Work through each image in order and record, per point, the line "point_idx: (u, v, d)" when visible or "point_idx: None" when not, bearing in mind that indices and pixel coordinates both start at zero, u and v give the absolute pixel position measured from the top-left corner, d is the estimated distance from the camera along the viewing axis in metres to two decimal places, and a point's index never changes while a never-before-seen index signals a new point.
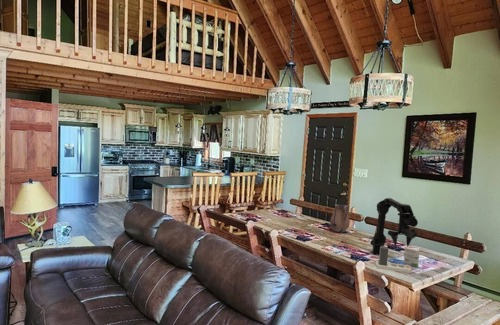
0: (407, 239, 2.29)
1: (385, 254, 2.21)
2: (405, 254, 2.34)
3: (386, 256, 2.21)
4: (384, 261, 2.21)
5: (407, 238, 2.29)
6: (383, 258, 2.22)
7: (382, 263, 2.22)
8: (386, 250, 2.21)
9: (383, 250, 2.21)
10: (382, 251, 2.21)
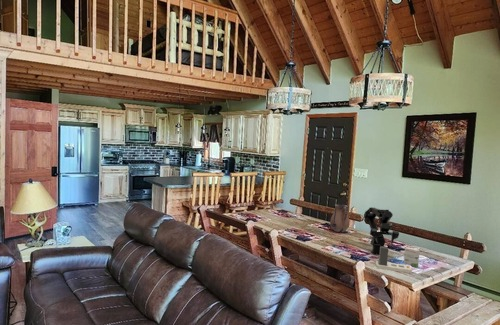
0: (391, 240, 2.37)
1: (385, 254, 2.21)
2: (405, 254, 2.34)
3: (386, 256, 2.21)
4: (384, 261, 2.21)
5: (391, 239, 2.38)
6: (383, 258, 2.22)
7: (382, 263, 2.22)
8: (386, 250, 2.21)
9: (383, 250, 2.21)
10: (382, 251, 2.21)
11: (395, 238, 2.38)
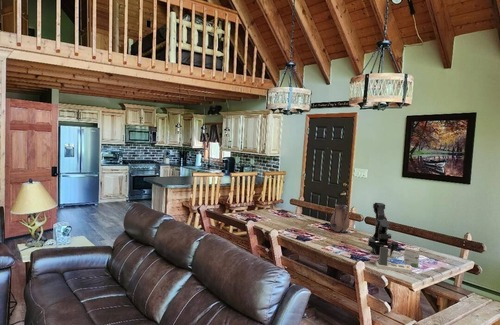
0: (390, 251, 2.26)
1: (385, 254, 2.21)
2: (405, 254, 2.34)
3: (386, 256, 2.21)
4: (384, 261, 2.21)
5: (390, 250, 2.27)
6: (383, 258, 2.22)
7: (382, 263, 2.22)
8: (386, 250, 2.21)
9: (383, 250, 2.21)
10: (382, 251, 2.21)
11: (394, 249, 2.27)
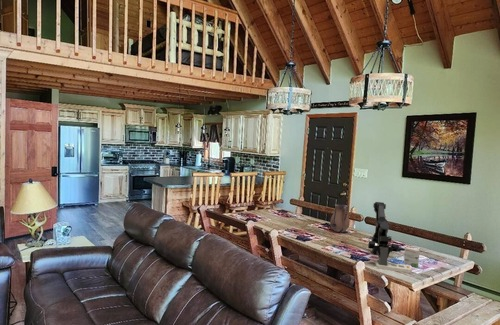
0: None
1: (385, 254, 2.21)
2: (405, 254, 2.34)
3: (386, 256, 2.21)
4: (384, 261, 2.21)
5: None
6: (383, 258, 2.22)
7: (382, 263, 2.22)
8: (386, 250, 2.21)
9: (383, 250, 2.21)
10: (382, 251, 2.21)
11: (391, 251, 2.26)
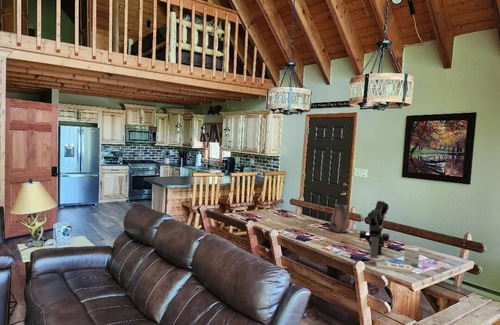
0: None
1: (376, 244, 2.24)
2: (405, 254, 2.34)
3: (377, 245, 2.24)
4: (375, 250, 2.24)
5: None
6: (374, 248, 2.24)
7: (373, 252, 2.25)
8: (377, 239, 2.24)
9: (374, 239, 2.24)
10: (373, 240, 2.24)
11: (382, 240, 2.29)
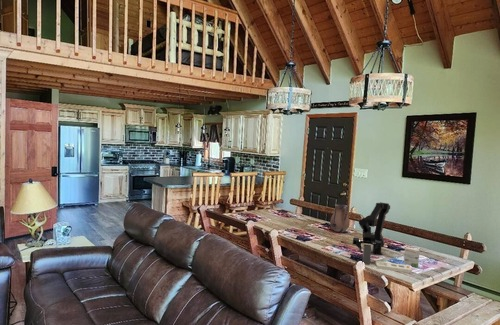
0: None
1: (369, 253, 2.26)
2: (405, 254, 2.34)
3: (369, 254, 2.26)
4: (367, 259, 2.27)
5: None
6: (366, 256, 2.27)
7: (365, 261, 2.27)
8: (369, 248, 2.26)
9: (366, 248, 2.27)
10: (365, 249, 2.27)
11: (377, 247, 2.31)
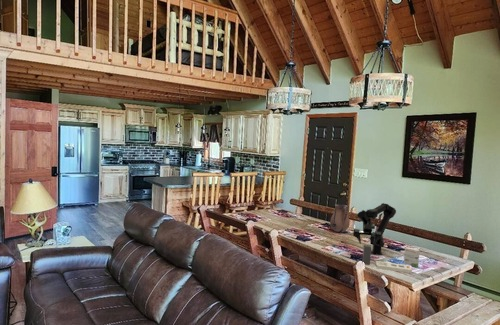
0: (374, 240, 2.36)
1: (369, 253, 2.26)
2: (405, 254, 2.34)
3: (369, 254, 2.26)
4: (367, 259, 2.27)
5: (374, 240, 2.36)
6: (366, 256, 2.27)
7: (365, 261, 2.27)
8: (369, 248, 2.26)
9: (366, 248, 2.27)
10: (365, 249, 2.27)
11: (378, 239, 2.37)
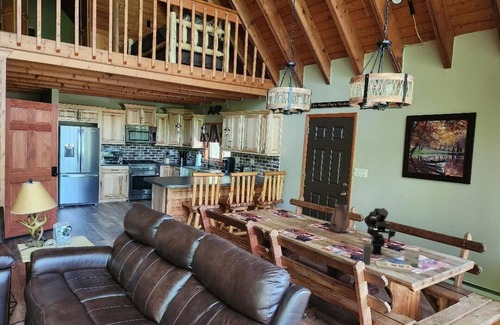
0: (388, 238, 2.41)
1: (369, 253, 2.26)
2: (405, 254, 2.34)
3: (369, 254, 2.26)
4: (367, 259, 2.27)
5: (388, 237, 2.42)
6: (366, 256, 2.27)
7: (365, 261, 2.27)
8: (369, 248, 2.26)
9: (366, 248, 2.27)
10: (365, 249, 2.27)
11: (392, 236, 2.43)
